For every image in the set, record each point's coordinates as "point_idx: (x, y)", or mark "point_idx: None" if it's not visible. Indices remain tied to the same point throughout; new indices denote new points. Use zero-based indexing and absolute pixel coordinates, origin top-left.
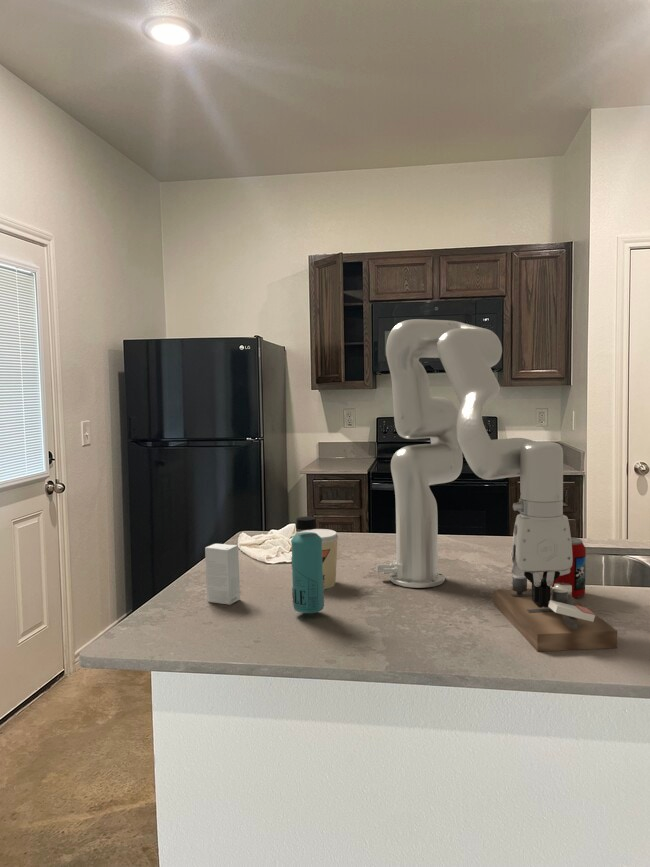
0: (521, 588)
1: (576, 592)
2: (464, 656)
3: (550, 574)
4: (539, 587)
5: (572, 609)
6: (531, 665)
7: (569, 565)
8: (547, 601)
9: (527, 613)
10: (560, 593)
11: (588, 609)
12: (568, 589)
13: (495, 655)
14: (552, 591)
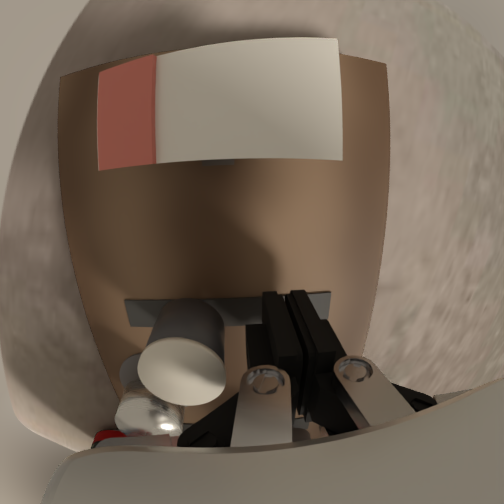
0: (293, 437)
1: (111, 437)
2: (497, 115)
3: (269, 435)
4: (332, 355)
5: (223, 47)
6: (393, 15)
7: (73, 476)
8: (270, 304)
9: (341, 283)
10: (190, 338)
11: (98, 140)
12: (131, 402)
13: (455, 94)
14: (224, 369)
